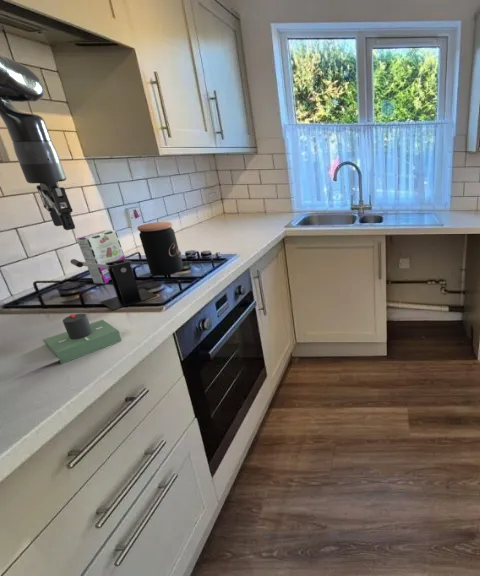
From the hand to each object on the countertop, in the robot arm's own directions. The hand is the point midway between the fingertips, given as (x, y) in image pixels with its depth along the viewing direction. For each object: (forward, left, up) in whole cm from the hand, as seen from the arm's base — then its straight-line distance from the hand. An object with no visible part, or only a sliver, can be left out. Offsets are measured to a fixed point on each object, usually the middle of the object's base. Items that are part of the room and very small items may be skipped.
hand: (65, 227), depth 94 cm
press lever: (+4, +1, -13) cm, 14 cm away
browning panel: (-8, -18, -25) cm, 32 cm away
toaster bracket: (+9, +1, -25) cm, 27 cm away
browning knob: (-8, -18, -22) cm, 30 cm away
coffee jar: (+28, +18, -25) cm, 41 cm away
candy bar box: (+14, +30, -25) cm, 41 cm away
